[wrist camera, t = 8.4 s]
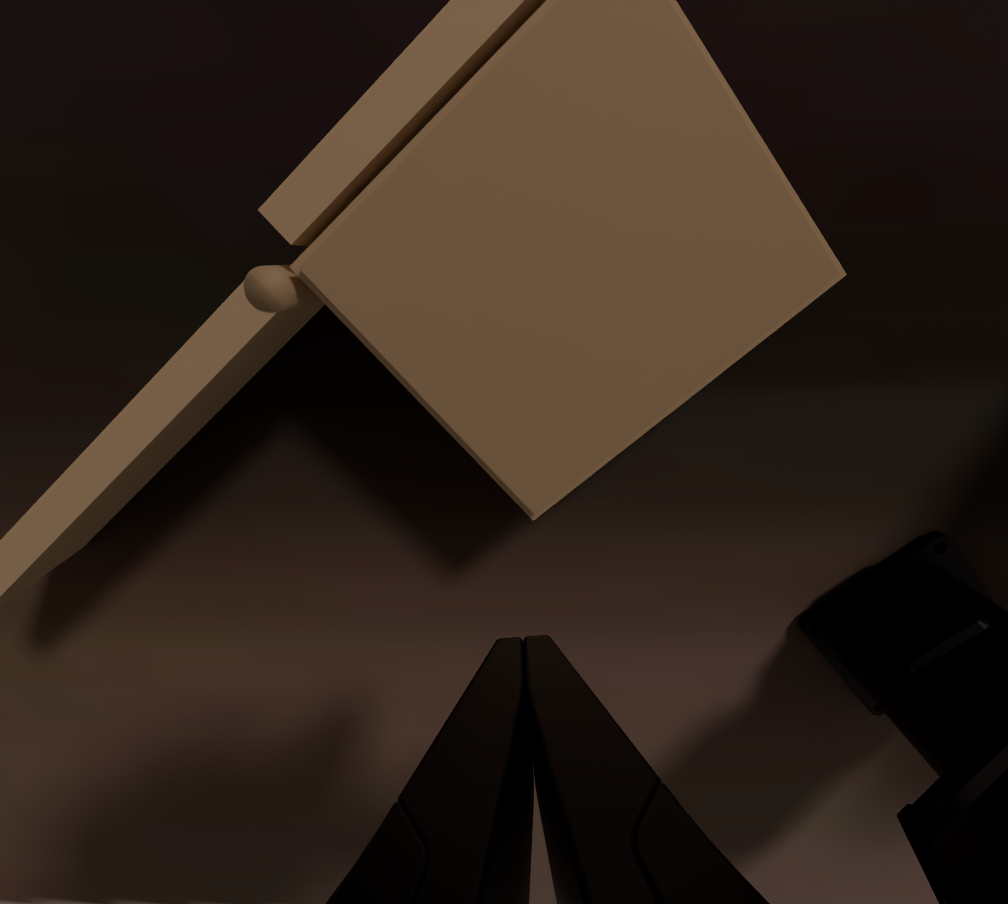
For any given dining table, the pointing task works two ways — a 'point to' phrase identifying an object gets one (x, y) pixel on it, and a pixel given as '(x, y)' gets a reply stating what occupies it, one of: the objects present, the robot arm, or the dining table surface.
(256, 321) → the flap
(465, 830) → the robot arm
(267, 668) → the dining table surface
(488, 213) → the carton
